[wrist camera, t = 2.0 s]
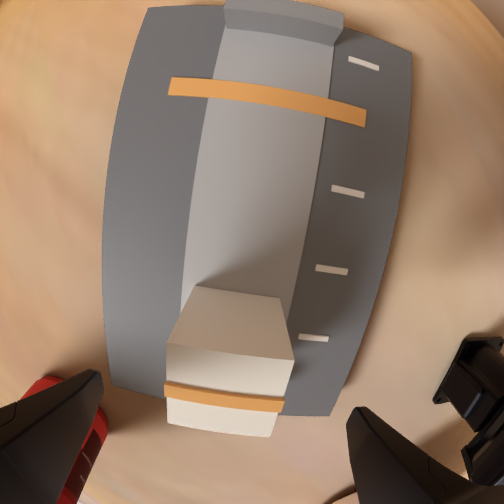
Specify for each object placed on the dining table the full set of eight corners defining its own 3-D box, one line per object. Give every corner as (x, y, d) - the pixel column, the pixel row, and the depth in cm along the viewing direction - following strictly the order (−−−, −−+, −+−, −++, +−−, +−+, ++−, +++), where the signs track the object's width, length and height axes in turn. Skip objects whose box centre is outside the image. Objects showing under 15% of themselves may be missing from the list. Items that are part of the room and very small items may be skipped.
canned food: (25, 368, 17) (-39, 440, 7) (88, 377, 17) (20, 481, 7) (61, 427, 19) (18, 500, 9) (123, 440, 19) (87, 534, 8)
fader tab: (280, 298, 13) (296, 363, 8) (265, 365, 14) (271, 439, 9) (193, 285, 13) (163, 344, 8) (188, 354, 14) (165, 425, 9)
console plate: (395, 63, 12) (430, 40, 8) (323, 396, 17) (335, 438, 14) (158, 23, 11) (136, -11, 8) (122, 367, 17) (100, 404, 13)
